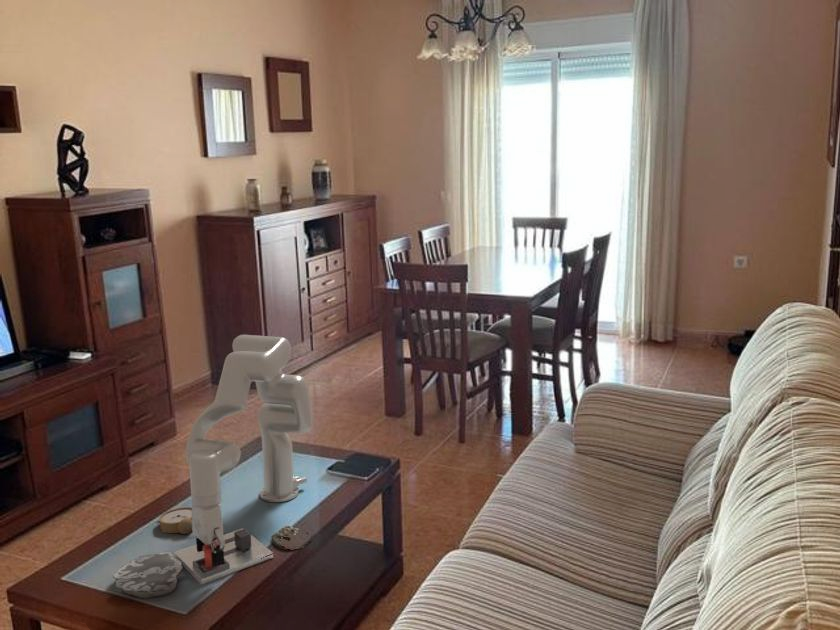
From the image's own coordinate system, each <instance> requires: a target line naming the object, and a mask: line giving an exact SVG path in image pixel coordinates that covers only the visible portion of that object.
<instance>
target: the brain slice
mask: <svg viewBox="0 0 840 630" xmlns="http://www.w3.org/2000/svg"><path fill="white" fill-rule="evenodd" d="M182 572H183V565H182V564H181V561H179V560H177V559H176V558H175V557H174V553H172V552H171V551H159V552H155V553H154V552H153V553H149V554H145V555H140V556H139V557H138V558H135V559H133V560H131V561H129V562H128V563H126V564H124V565H123V566H122V567H120V568H118V569H117V570H116V572H114V574H113V575H112V577H113V579H115V580H116V581H115V582H114V587H115V588H116V589H117V590H118V591H121V592H124V593H127V594H128V595H130V596H135V597H137V598H142V599H144V598H148V599H149V598H153V597H156V596H157V597H162V596H165V595H167V594H171V593H172V592H173V591H174V590H175V589H176V586H177V583H178V581H179V578H180V576H182V575H181V574H182Z"/></svg>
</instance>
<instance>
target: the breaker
mask: <svg viewBox="0 0 840 630" xmlns="http://www.w3.org/2000/svg"><path fill="white" fill-rule="evenodd" d="M241 529H242V528H241ZM238 530H239V531H237V530H235V531H236V532H234V531H233V532H234V536H235V546H237V547H238V548H239V549H240V550H241V551H242V550H245V549H248V548H251V535H252V534H251V533H250V532H249V531H248V530H246V529H245V528H243V529H242V530H240V529H238Z"/></svg>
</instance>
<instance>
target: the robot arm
mask: <svg viewBox="0 0 840 630" xmlns="http://www.w3.org/2000/svg"><path fill="white" fill-rule="evenodd" d="M232 351H233V352H230V353H229V354H227V355H226V357H225V359H224V362H223V367H222V372H221V375H220V378H219V383H218V387H217V390H216V395H215V399H214V401H213V402H212V403H211V404H210V405H209V406H208V407H207V408H205V410H203V411H202V412H201V413H200V414H199V415H198V417H197V418H196V419H195V421H194V423H192V427H191V428H190V432H189V436H188V440H187V443H186V448H185V460H186V463H188V468H189V482H190V483H189V484H190V495H191V496H190V497H191V507H192V531H191V532H192V533H193V535H194V536H195V538H196V539H195V541H196V542H195V543H196V544H197V551H198V552H201V551H203V546H204V545H205V544H206V545H209V544H210V545H211V548H212V551H213V552H211V557H212V566H213V567H215V566H217V565H220V564H223V563H224V545H225V540H224V538H223V535H224V524H223V515H222V510H221V509H222V507H221V504H222V501H223V499H222V486H221V474H223V473H225V472H227V471H230V470H232V469H233V468H235V466H237V465H238V463H239V462H240V459H241V455H242V452H241V451H242V450H241V447H240V446H239V444H237V443H235V442H233V441H227V440H218V439H217V440H216V439H206V436H207V433H208V432H209V430H210V428H212V426H213V425H215V424H216V423H218V422H219V421H221V420H224V419H225V418H228V417H231V416H233V415H236V414H238V413H240V412H243V411H244V410H245V408H246V405H247V401H248V397H249V393H250V388H251V384H252V382H255V387H256V392H257V395H258V398H259V400H260V402H262V403H263V404H262V405H260V407H259V409H258V411H257V423H258V427H259V431H260V436H261V447H262V450H261V451H262V466H263V467H262V468H263V486H264V487H262V488H261V490H259V497H260V499H261V500H263V501H265V502H270V503H282V502H288V501H291V500H293V499H294V498H295V499H296V497H297V496H298V495H299V492H300V490H299V491H298V489H299V486H300V485H301V484H305V483H307V481H308V480H307V477H306V476H304V477H303V476H302V477H300V476H298V475H297V476H294V462H293V461H294V460H293V458H294V457H293V442H292V439H291V436H290V435H289V434H288V433H290V434H305V433H308V432H309V431H310V430H311V429H312V426H313V421H314V420H313V419H314V417H313V408H312V403H311V402H312V401H311V395H310V389H309V384H308V382H307V380H306V379H305V378H304V376H301V375H298V374H286V373H284V372H283V371H282V370H283V368H284V367H285V366H286V365H287V364H288V363H289V361H290V358H291V355H292V345H291V343H290V340H288V339H287V338H285V337H283V336H282V337H281V336H272V335H271V336H270V335H267V336H266V335H254V334H253V335H252V334H240V335H238V336H236V337H235V338H234V339H233V341H232ZM213 538H217V539H216V540H213ZM216 542H218V545H217V546H216V547H215V546H214V543H216ZM196 544H195V545H196Z"/></svg>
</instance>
